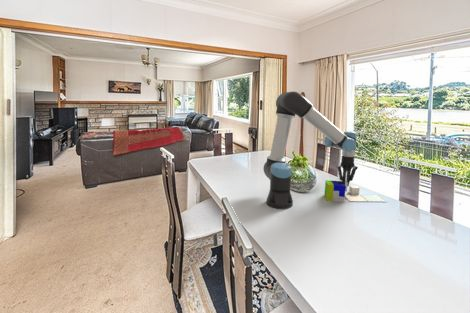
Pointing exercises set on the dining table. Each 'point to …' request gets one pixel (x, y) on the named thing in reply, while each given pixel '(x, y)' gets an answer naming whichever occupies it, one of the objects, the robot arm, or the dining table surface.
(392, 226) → the dining table surface
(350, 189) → the die
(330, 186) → the puzzle toy
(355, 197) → the board
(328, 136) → the robot arm
